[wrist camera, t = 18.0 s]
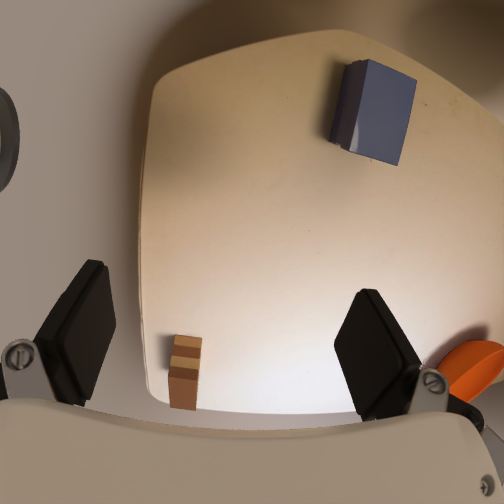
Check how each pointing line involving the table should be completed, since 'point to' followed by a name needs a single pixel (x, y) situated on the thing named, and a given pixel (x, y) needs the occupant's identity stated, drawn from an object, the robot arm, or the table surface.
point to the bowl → (472, 367)
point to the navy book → (378, 112)
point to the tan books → (184, 372)
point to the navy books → (343, 103)
